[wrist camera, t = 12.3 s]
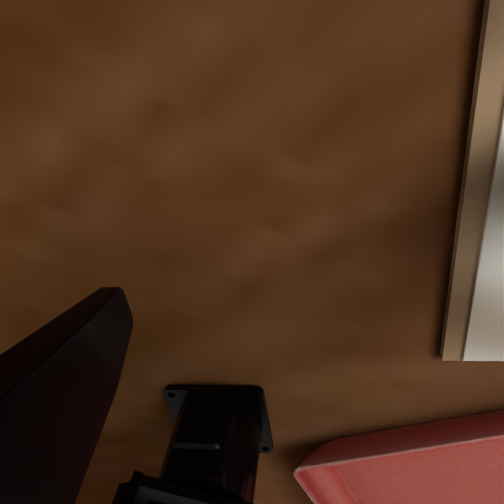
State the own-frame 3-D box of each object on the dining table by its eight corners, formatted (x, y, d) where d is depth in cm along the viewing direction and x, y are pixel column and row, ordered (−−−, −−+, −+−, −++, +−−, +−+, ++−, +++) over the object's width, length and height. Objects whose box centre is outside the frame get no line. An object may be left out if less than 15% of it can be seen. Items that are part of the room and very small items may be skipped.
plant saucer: (617, 529, 34) (642, 581, 31) (374, 549, 40) (378, 594, 37) (592, 366, 25) (625, 418, 23) (290, 424, 31) (287, 470, 29)
